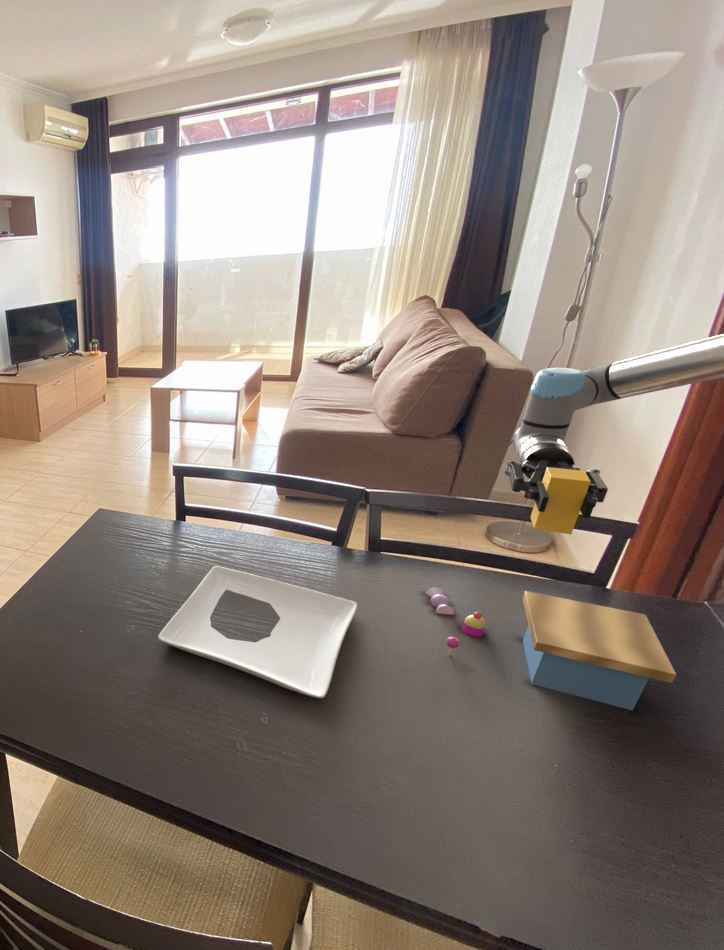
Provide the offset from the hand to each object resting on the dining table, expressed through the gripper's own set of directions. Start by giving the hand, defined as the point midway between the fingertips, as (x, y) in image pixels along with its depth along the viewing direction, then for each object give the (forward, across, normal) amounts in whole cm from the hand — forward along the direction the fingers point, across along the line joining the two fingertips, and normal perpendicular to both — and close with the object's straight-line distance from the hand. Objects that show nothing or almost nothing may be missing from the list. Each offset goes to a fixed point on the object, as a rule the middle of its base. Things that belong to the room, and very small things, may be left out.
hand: (566, 507), depth 89 cm
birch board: (+19, -3, -12) cm, 23 cm away
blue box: (+19, -3, -20) cm, 28 cm away
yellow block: (-5, 0, -6) cm, 8 cm away
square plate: (+30, +41, -20) cm, 55 cm away
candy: (+14, +12, -20) cm, 27 cm away
